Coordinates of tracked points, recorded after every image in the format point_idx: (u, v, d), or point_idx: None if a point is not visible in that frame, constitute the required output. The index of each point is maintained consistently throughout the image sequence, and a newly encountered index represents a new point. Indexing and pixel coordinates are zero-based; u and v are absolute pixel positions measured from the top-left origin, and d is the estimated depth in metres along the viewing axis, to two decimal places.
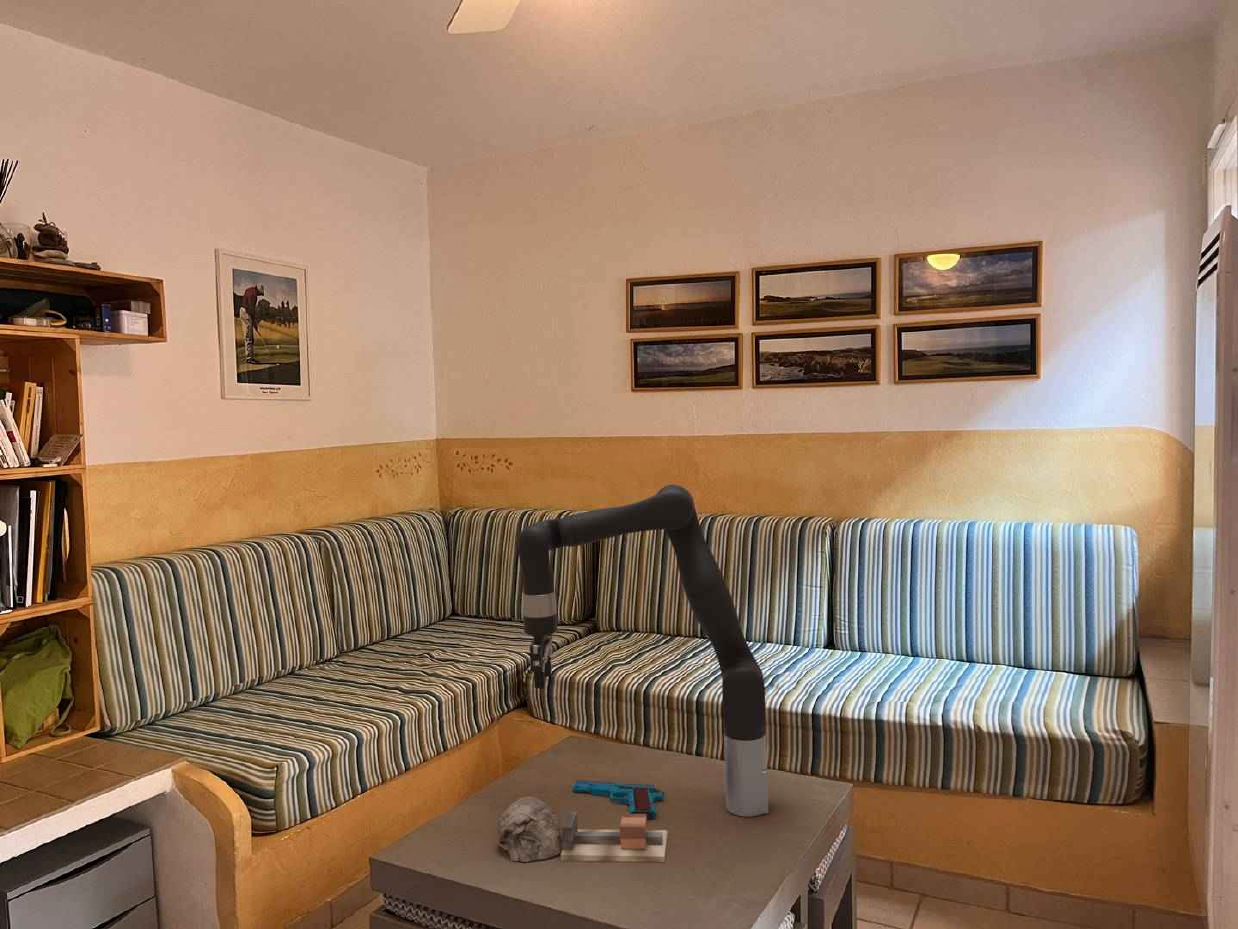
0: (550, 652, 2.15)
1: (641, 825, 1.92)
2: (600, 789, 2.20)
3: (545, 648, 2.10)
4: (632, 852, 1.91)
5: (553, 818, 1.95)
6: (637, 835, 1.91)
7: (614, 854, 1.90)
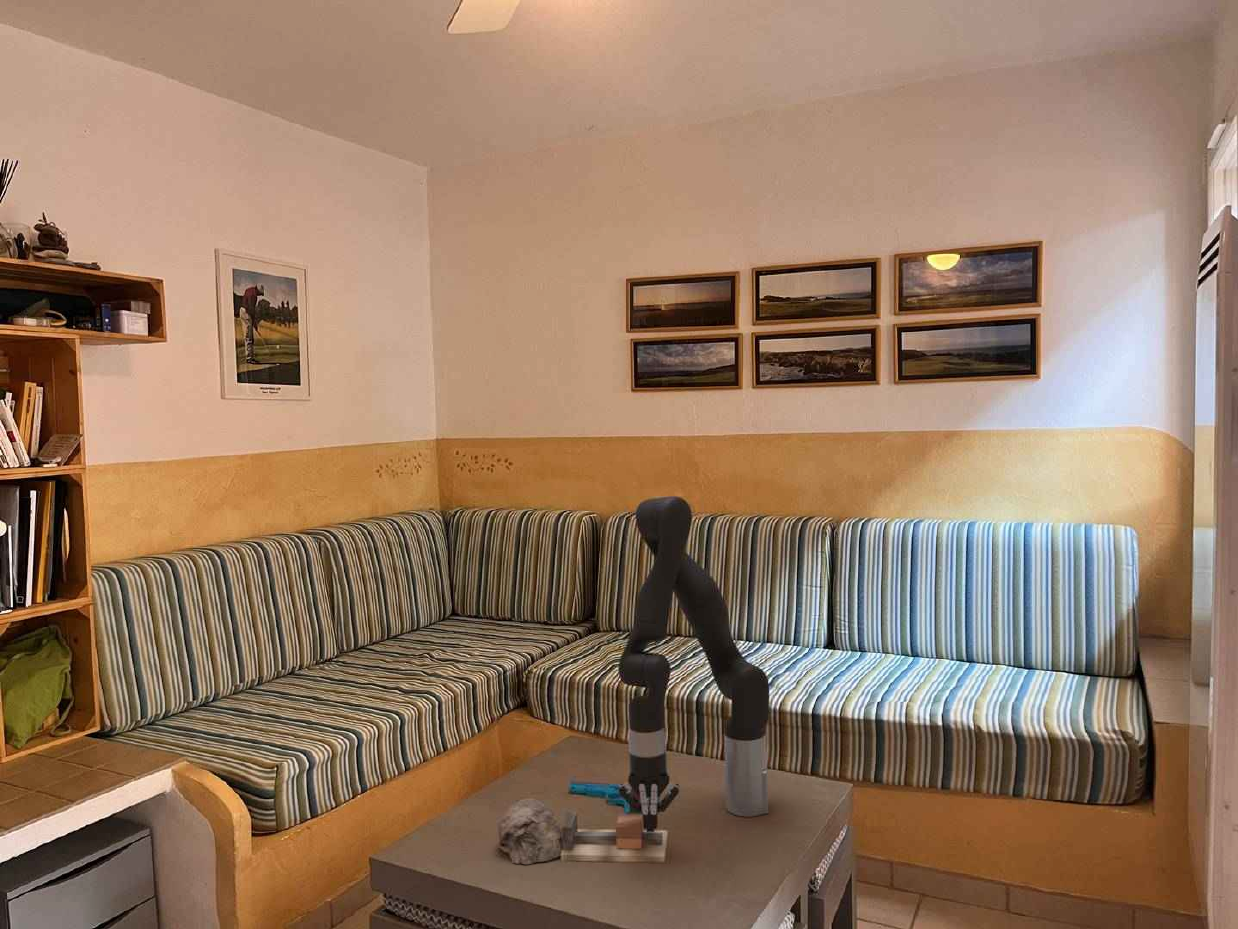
0: None
1: (637, 825, 1.92)
2: (596, 790, 2.20)
3: None
4: (632, 852, 1.91)
5: (554, 820, 1.94)
6: (633, 835, 1.92)
7: (614, 854, 1.90)
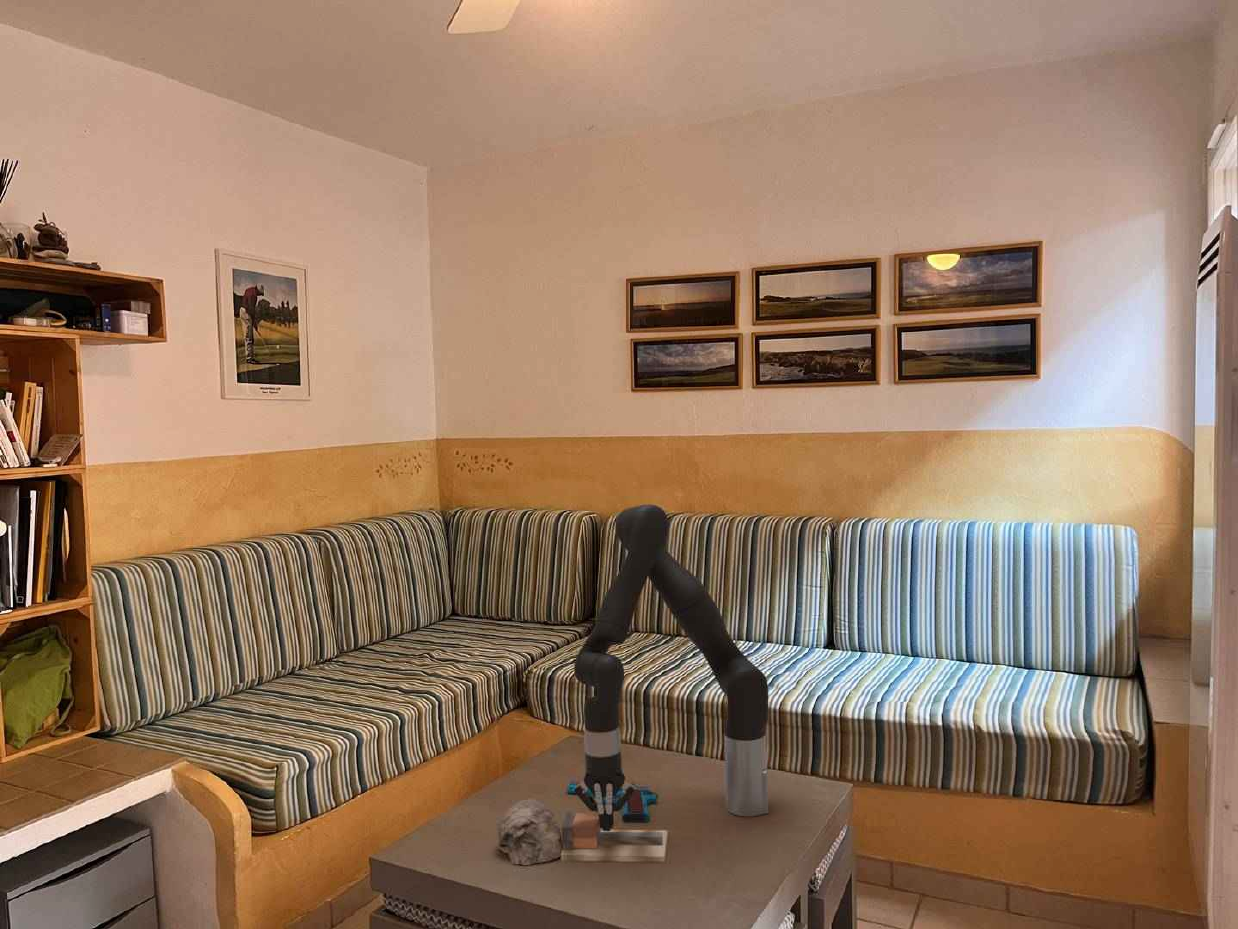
0: None
1: (593, 825, 1.93)
2: None
3: None
4: (632, 852, 1.91)
5: (554, 821, 1.94)
6: (589, 835, 1.93)
7: (614, 854, 1.90)
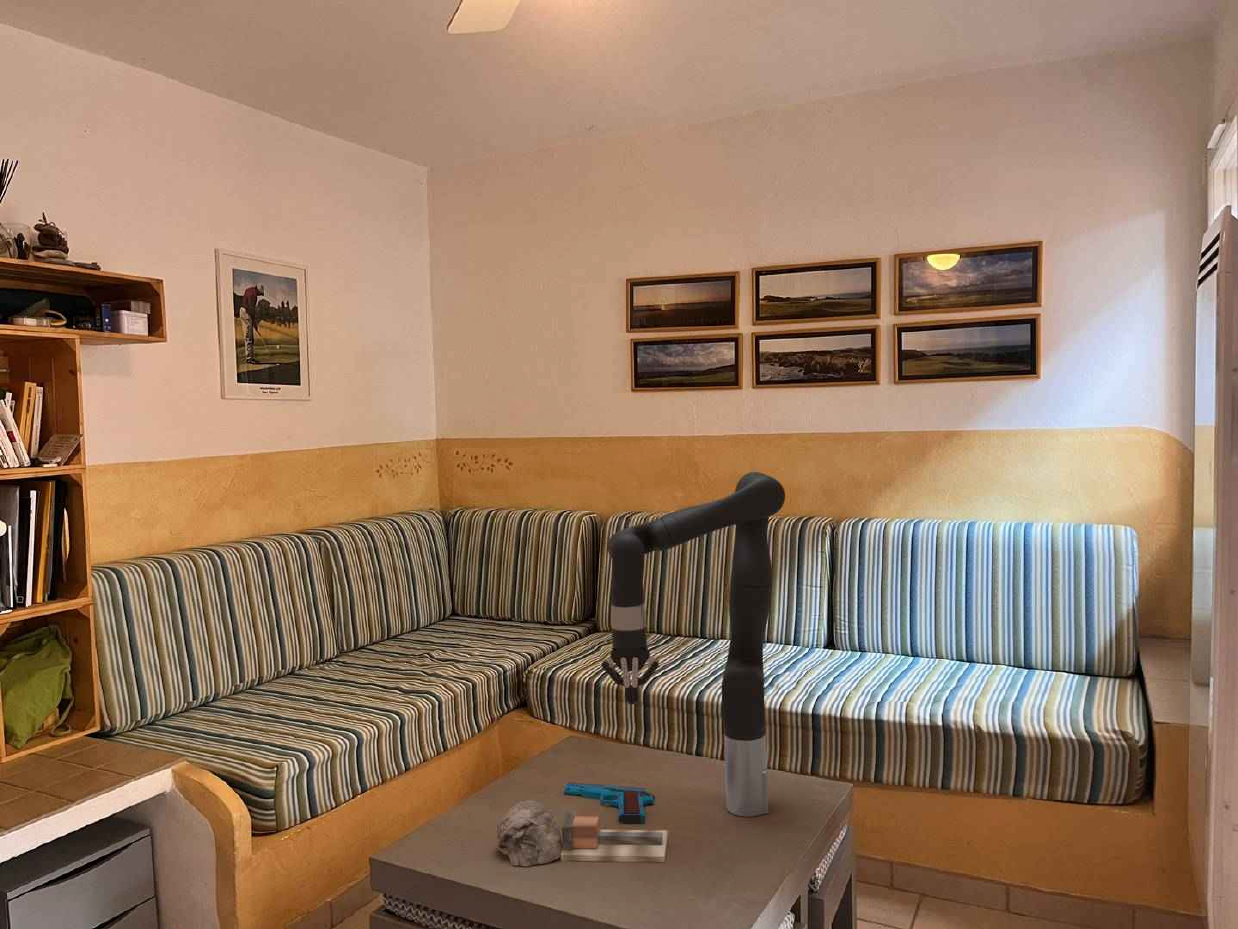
0: None
1: (593, 825, 1.93)
2: (591, 791, 2.19)
3: None
4: (632, 852, 1.91)
5: (553, 822, 1.93)
6: (589, 835, 1.93)
7: (614, 854, 1.90)
